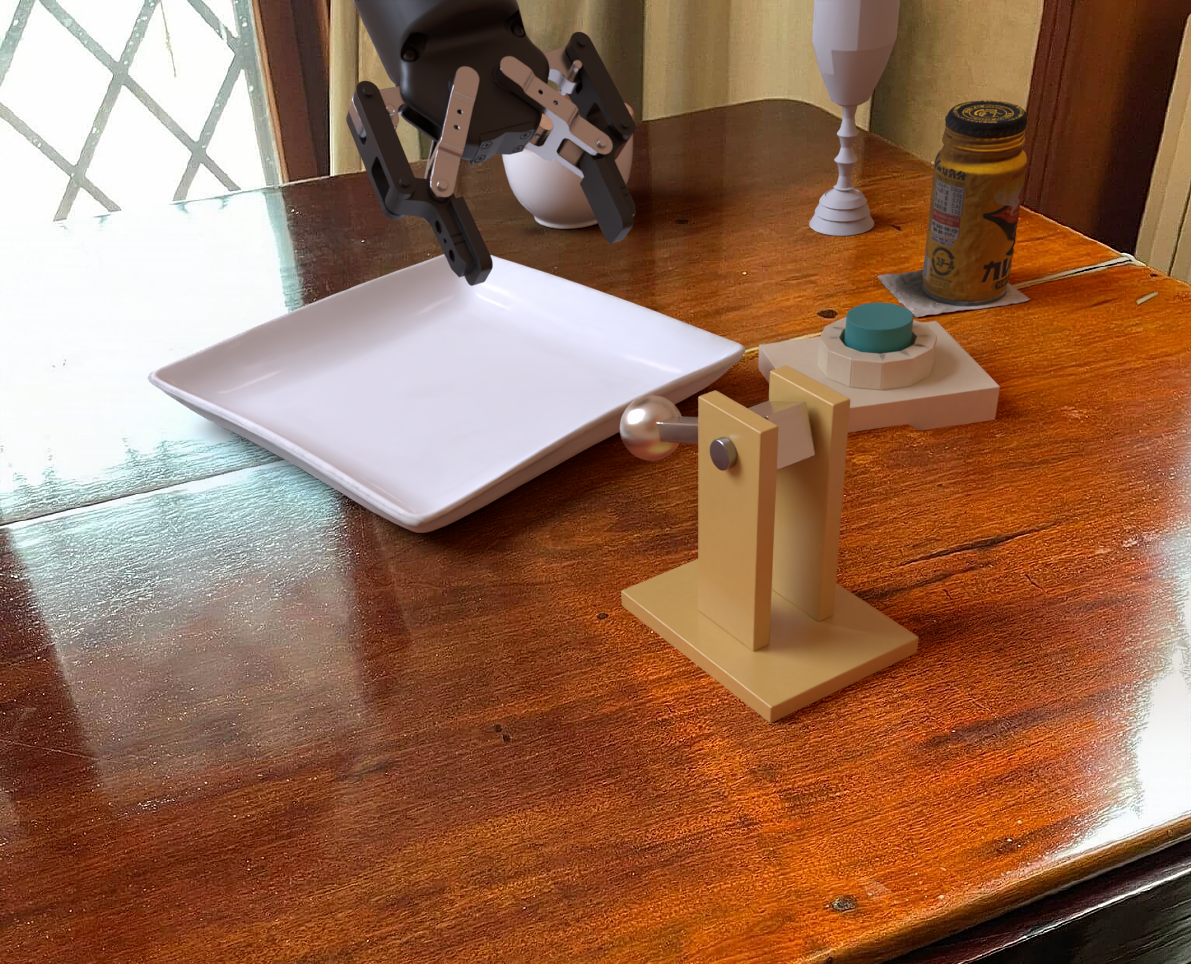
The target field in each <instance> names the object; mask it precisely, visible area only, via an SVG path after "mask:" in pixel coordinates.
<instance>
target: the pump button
mask: <svg viewBox="0 0 1191 964" xmlns="http://www.w3.org/2000/svg"><path fill="white" fill-rule="evenodd" d="M845 317H846V327H845V346H847V347H849V348H852V349H855V350H857V351H860V352H867V353H878V354H883V353H890V352H897V351H902V350H904V349H906V348H908V347H910V345H911V337H912V328H913V320H914V319H915V318H914V314H913V313H912V312H911V311H910V310H908V309H907V308H906V307H905V306H904V305H903V306H902V305H900V304H897V303H896V304H895V303H891V302H868V303H862V304H859V305H856V306H853V307H852V308H850V309H849V310H848V311H847V313H846V316H845Z"/></svg>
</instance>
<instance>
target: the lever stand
mask: <svg viewBox="0 0 1191 964" xmlns="http://www.w3.org/2000/svg"><path fill="white" fill-rule="evenodd" d="M768 385H769V387H768V388H769V389H768V401H790V402H806V403H807V409H808V415H809V421H810V426H811V432H812V438H813V444H814V449H815V456H812V457H810V458H807V459H805V460H802V461H800V462H797V463H795V464H792V465H790V466H787V467H785V468H782V469H780V470H777V452H778V429H779V427H778V426H777V425H775V424H774V423H772V422H770V421H768V420H767V419H765V418H763V417H761V416H760V415H758V414H756V413H755V412H753V411H751V410H749V409H748V408H749V407H748V408H747V407H746V406H744V405H743V404H741V403H740V402H737V401H736V400H733V399H732V398H730V397H728V396H727V395H725V394H723V393H721V392H720V391H718V390H712V391H709V392H707V393H704V394H701V395H699V396H698V398H697V400H698V403H697V404H698V405H697V406H698V409H697V410H698V416H697V417H698V444H697V445H698V450H697V452H698V453H697V456H698V457H697V459H698V460H697V463H698V465H697V469H698V470H697V472H698V473H697V475H698V476H697V479H698V480H697V482H698V483H697V488H698V489H697V534H698V535H697V549H698V550H697V552H698V553H697V554H698V555H697V557H698V558H696V559H694V560H692V561H689V562H687V563H685V564H682V565H680V566H678V567H675V568H672V569H670V570H668V571H665V572H663V573H660V574H657V575H655V576H652V577H651V578H648V579H646V580H643V581H640V582H639V583H636V584H633V585H632V586H629V587H626V588H624V589H622V590H621V591H620V596H621V597H620V598H621V606H622V607H623V608H624V609H626V610H627V612H629V613H630V614H632V615H633V616H634V617H636V618H637V619H638V620H639V621H641V622H642V623H643V624H644V625H646V626H647V627H648V628H649V629H651V630H652V631H653V632H655V633H656V634H657V635H658V636H660V637H661V638H662V639H663V640H665V641H666V642H667V643H669V645H671V646H672V647H673V648H675V649H676V650H677V651H678V652H680V653H681V654H683V656H685V657H686V658H687V659H689V660H690V661H691V662H693V663H694V664H695V665H696V666H697V667H699V668H700V669H701V670H702V671H704V672H705V673H706V674H708V675H709V676H710V677H711V678H713V679H714V680H715V681H716V682H718V683H719V685H722V686H723V687H724V688H725V689H727V690H728V691H729V692H730V693H732V694H733V695H734V696H735V697H737V698H738V699H739V700H740V701H742V702H743V703H744V704H745V705H747V706H748V707H749V708H751V710H753V711H754V712H756V713H757V714H758V715H759V716H761V717H762V718H763V719H765V720H766V721H767V722H768V723H770V724H772V723H774V722H776V721H778V720H780V719H782V718H784V717H786V716H788V715H790V714H793V713H795V712H797V711H798V710H801V709H803V708H805V707H807V706H809V705H811V704H814V703H815V702H817V701H819V700H821V699H824V698H826V697H828V696H829V695H832V694H834V693H836V692H838V691H840V690H842V689H844V688H846V687H848V686H851V685H852V684H855V683H857V682H859V681H862V680H863V679H865V678H867V677H870V676H871V675H873V674H875V673H877V672H879V671H882V670H883V669H886V668H888V667H890V666H892V665H894V664H896V663H898V662H900V661H902V660H904V659H906V658H909V657H911V656H913V655H914V654H917V653H918V646H919V636H918V635H916V634H914V633H913V632H912V631H911V630H909V629H907V628H906V627H904V626H902V625H901V624H899V623H898V622H896V621H895V620H893V619H892V618H890V617H889V616H887V615H886V614H885V613H883V612H881V611H880V610H878V609H877V608H875V607H874V606H872V605H871V604H869V603H868V602H866V601H865V600H863V599H862V598H860V597H859V596H857V595H856V594H854V593H853V592H851V591H850V590H848V589H847V588H845V587H844V586H842V585H840V584H839V583H838V582H837V575H838V563H839V551H840V537H841V524H842V514H843V512H842V511H843V501H844V489H845V487H844V486H845V476H846V475H845V474H846V463H847V462H846V461H847V448H848V436H849V432H848V425H849V412H850V399H849V398H848V397H846V396H844V395H842V394H840V393H838V392H836V391H834V390H832V389H831V388H829V387H827V386H825V385H823V384H821V383H819V382H817V381H815V380H813V379H812V378H810V377H808V376H806V375H804V374H802V373H800V372H798V371H796V370H795V369H793V368H791V367H789V366H786V365H785V366H782V367H780V368H777V369H774V370H771V371H770V383H768Z"/></svg>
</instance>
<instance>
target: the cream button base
mask: <svg viewBox="0 0 1191 964" xmlns="http://www.w3.org/2000/svg"><path fill="white" fill-rule="evenodd" d="M845 327H846V316H844V317H842V318H840V319H838V320H835V321H833V322H831V323H829V324H827V325H825V326H824V327H823V330H822V332H821V334H820V336H815V337H807V338H800V339H793V340H785V341H777V342H770V343H762V344H759V345H758V364H757V365H758V367H757V368H758V370H759V371H760V373H761V374H762V376H763V378H764V379H765V380H766V382H767V383H768V384H769V383H770V371H771V370H774V369H777V368H780V367H782V366H785V365H786V366H789V367H791V368H793V369H795V370H796V371H798V372H800V373H802V374H804V375H806V376H808V377H810V378H812V379H813V380H815V381H817V382H819V383H821V384H823V385H825V386H827V387H829V388H831V389H832V390H834V391H836V392H838V393H840V394H842V395H844V396H846V397H848V398H849V399H850V412H849V425H848V433H853V432H860V431H861V432H862V431H867V430H868V431H869V430H875V429H881V428H889V427H890V428H891V427H895V426H896V427H897V426H903V425H908V426H910V427H912V428H913V429H915V430H918V431H920V432H921V431H928V430H935V429H942V428H949V427H956V426H962V425H969V424H976V423H983V422H990V421H995V420H996V415H997V408H998V404H999V403H998V402H999V396H1000V390H1001V386H1000V385H999V384H998V383H997V381H995V379H993V378H992V377H991V376H990V375H989V374H988V373H987V371H986V370H985V369H984V368H983V367H982V366H981V365H980V364H979V363H978V362H977V361H976V360H975V359H974V357H972V356H971V354H969V353H968V352H967V350H965V349H964V348H963V346H962V345H960V344H959V342H958V341H957V340H956V339H955V338H954V337H953V335H951V334H950V333H949V332H948V331H947V330H946V329H945V328H944V327H943V325H941V324H940V323H939V322H938V321H937V320H933V321H924V322H922V321H918V320H916V319H913V328H912V337H911V345H910V347H908V348H906V349H904V350H902V351H897V352H890V353H883V354H878V353H867V352H860V351H857V350H855V349H852V348H849V347H847V346H845Z"/></svg>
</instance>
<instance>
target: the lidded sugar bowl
mask: <svg viewBox="0 0 1191 964" xmlns="http://www.w3.org/2000/svg"><path fill="white" fill-rule="evenodd" d="M557 92H558V93H559V90H558V91H557ZM564 97H565V98H567V99H568V100H570V98H569V96H568V94H567V95H565V96H564ZM570 101H571V100H570ZM624 103H625V105H626V107H627V109H628V111H629V113H630V114H631V116H632V118H633V120H634V121H635V112H634V109H633V108H632V106H630V105H629V104H628V103H626V102H624ZM539 126H541V127H542V128H544V129H547V130H551V129H552V128H553V123H552V121H551V120H550V118H548V117H547V116H546V115H544V114H543V113H542V119H541V123H540V125H539ZM569 140H570V139H569ZM576 145H577V144H576ZM579 147H580V146H579ZM633 156H634V133H633V134H632V136H631V137H630V139H629V140H628V142H627V144H626V145H625V147H624V148H623V150H622V151H621V153H620V154H619V156H618V157H617V159H616V160H615V162H616V165H617V167H618V169H619V171H620V173H621V175H622V177H623V180H624V182H625V184H626V187H627V185H628V183H629V180H630V178H631V177H630V176H631V172H632V166H633ZM501 157H502V162H503V166H504V171H505V174H506V178H507V181H508V185H509V188H510V189H511V191H512V193H513V195H514V196H515V198H516V200H517V201H518V202H519V204H521V206H522V207H523V208H524V209H525V210H526V211H527V212H528V213H530V214H531V215H532V216H533V218H534V220H535V222H536V223H538V224H539V225H541V226H545V227H546V228H547V227H548V228H553V229H562V230H563V229H564V230H565V229H567V230H568V229H579V228H580V229H581V228H586V227H590V226H591V227H592V226H593V225H598V222H597V220H596V217H595V215H594V213H593V211H592V209H591V207H590V205H589V203H588V200H587V198H586V196H585V194H584V192H583V190H582V188H581V185H580V182H581V181H582V179H583V178H581V177H580V176H578V175H577V174H575V173H574V172H572V171H571V170H569V169H568V168H567V167H565V166H564V165H562V164H561V163H559V162H558V161H556V160H545V159H543V158H541V157H540V156H538V155H537V154H536V153H534V152H533V151H531V150H530V149H528V148H527V147H526V146H525V148H524V150H523V151H522V152H518V153H514V154H511V155H502V154H501Z"/></svg>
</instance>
